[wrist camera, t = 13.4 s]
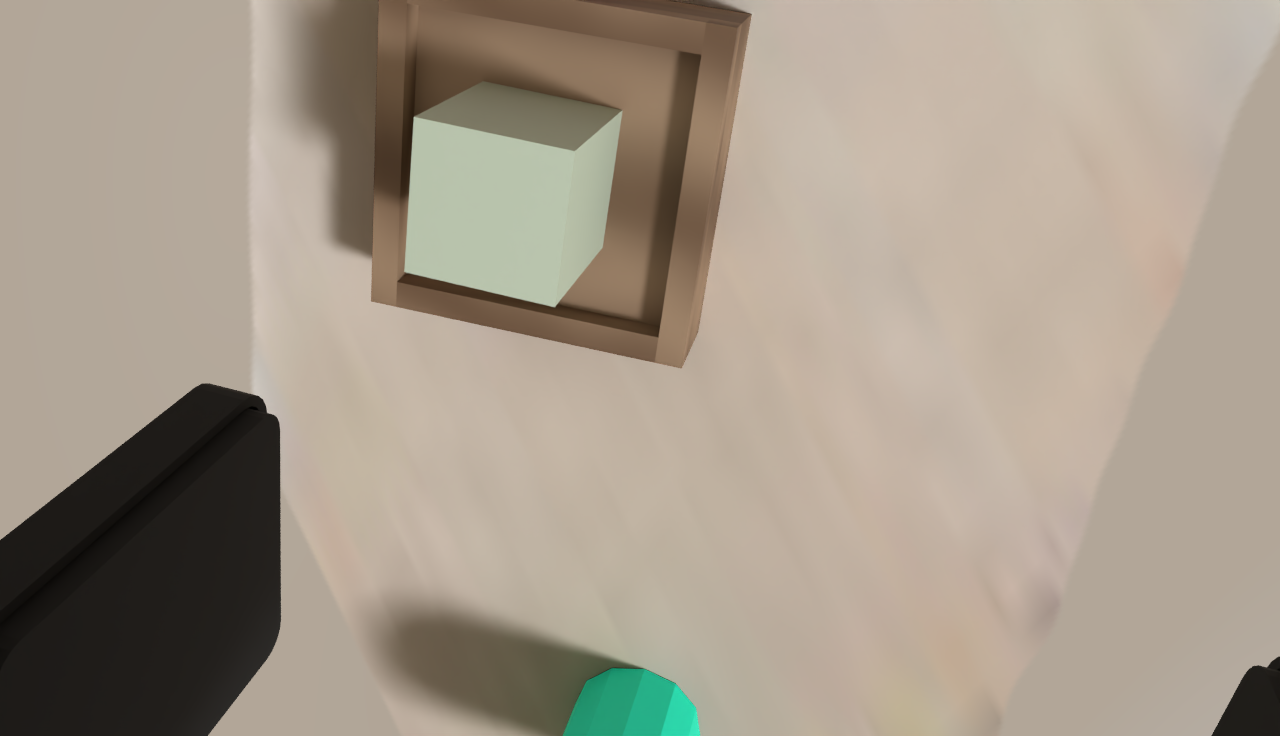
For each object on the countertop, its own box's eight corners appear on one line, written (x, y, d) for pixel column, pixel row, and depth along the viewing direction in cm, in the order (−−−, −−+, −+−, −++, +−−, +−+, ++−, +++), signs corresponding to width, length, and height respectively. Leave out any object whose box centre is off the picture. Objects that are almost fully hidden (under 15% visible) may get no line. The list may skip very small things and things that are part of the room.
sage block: (483, 81, 38) (413, 116, 33) (622, 110, 38) (574, 151, 32) (471, 218, 40) (404, 272, 35) (602, 247, 40) (554, 307, 34)
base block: (426, -43, 40) (379, -34, 36) (753, 12, 38) (737, 27, 35) (413, 266, 45) (371, 301, 42) (700, 327, 43) (681, 368, 40)
